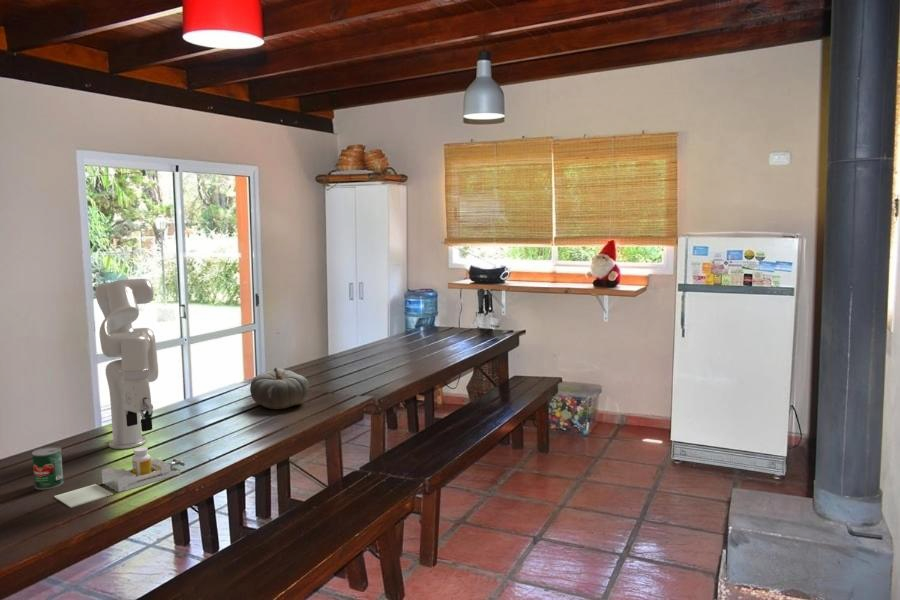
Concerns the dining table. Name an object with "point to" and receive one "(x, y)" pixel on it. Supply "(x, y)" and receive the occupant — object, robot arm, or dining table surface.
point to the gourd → (279, 389)
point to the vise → (128, 480)
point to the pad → (83, 495)
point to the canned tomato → (47, 468)
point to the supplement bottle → (141, 461)
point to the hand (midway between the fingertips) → (139, 427)
